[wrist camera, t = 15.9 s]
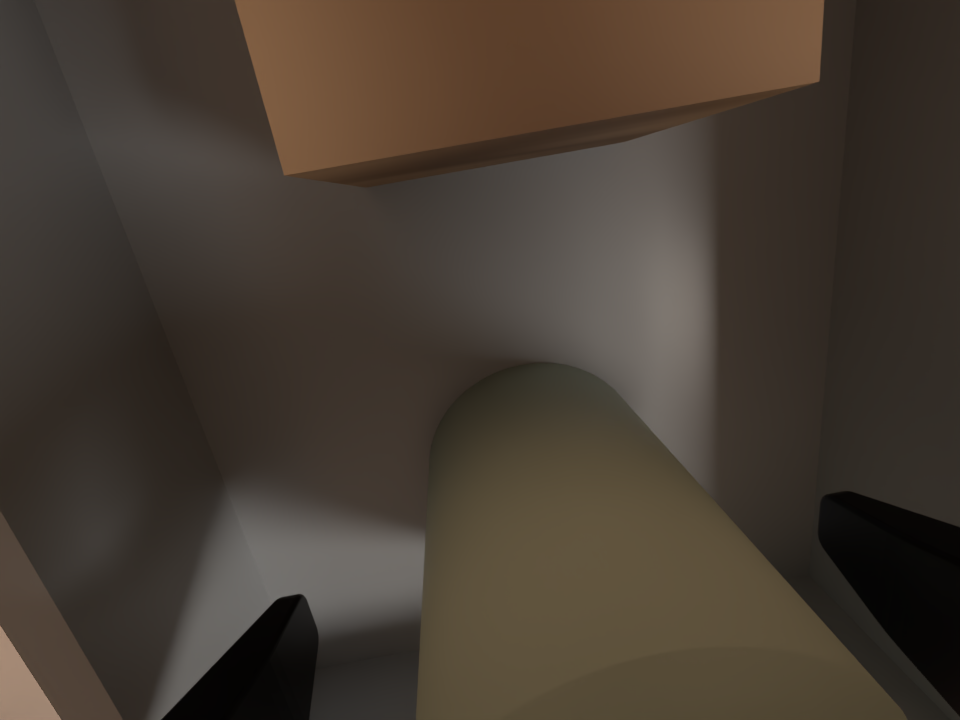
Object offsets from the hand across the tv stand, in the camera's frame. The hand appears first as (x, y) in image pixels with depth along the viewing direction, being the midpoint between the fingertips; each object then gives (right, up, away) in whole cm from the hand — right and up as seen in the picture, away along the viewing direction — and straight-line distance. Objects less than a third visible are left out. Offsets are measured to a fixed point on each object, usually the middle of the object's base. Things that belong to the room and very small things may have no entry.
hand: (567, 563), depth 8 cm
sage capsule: (0, +1, +3) cm, 3 cm away
